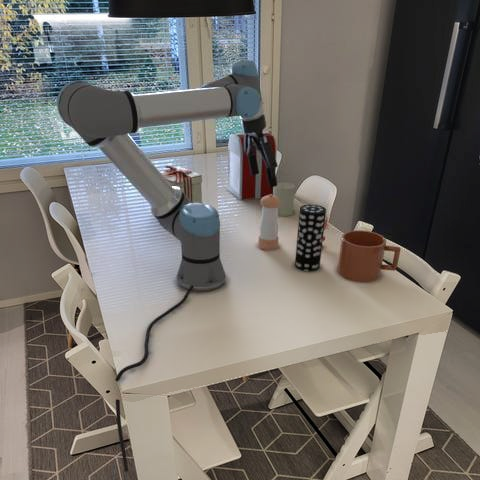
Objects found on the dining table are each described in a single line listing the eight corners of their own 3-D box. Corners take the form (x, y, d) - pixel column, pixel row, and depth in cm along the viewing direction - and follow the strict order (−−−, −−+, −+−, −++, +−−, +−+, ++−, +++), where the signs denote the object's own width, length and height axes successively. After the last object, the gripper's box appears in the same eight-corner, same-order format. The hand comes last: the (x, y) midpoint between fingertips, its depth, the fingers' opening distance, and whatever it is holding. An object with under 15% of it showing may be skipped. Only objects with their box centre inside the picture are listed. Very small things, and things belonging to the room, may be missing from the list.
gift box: (148, 209, 207) (144, 168, 198) (182, 200, 218) (180, 161, 209) (172, 219, 197) (170, 177, 188) (206, 209, 208) (206, 169, 199)
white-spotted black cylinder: (318, 272, 159) (325, 214, 148) (293, 270, 160) (298, 212, 150) (320, 262, 166) (326, 205, 155) (296, 259, 167) (301, 203, 156)
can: (268, 213, 206) (269, 185, 199) (277, 207, 213) (278, 179, 206) (288, 217, 202) (290, 188, 196) (296, 210, 209) (298, 183, 203)
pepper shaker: (261, 250, 173) (264, 198, 163) (255, 242, 179) (257, 191, 169) (280, 248, 175) (284, 196, 164) (274, 241, 181) (277, 190, 170)
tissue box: (275, 196, 226) (278, 135, 211) (240, 200, 220) (241, 138, 206) (260, 186, 239) (263, 128, 224) (227, 189, 233) (227, 130, 218)
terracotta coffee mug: (335, 279, 155) (340, 244, 149) (338, 261, 167) (343, 228, 160) (395, 286, 152) (402, 251, 145) (394, 267, 163) (401, 234, 157)
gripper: (282, 121, 141) (291, 187, 155) (246, 105, 160) (257, 166, 173) (259, 129, 140) (271, 196, 153) (226, 112, 158) (239, 173, 172)
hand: (264, 180), depth 163 cm, fingers open, 13 cm apart
